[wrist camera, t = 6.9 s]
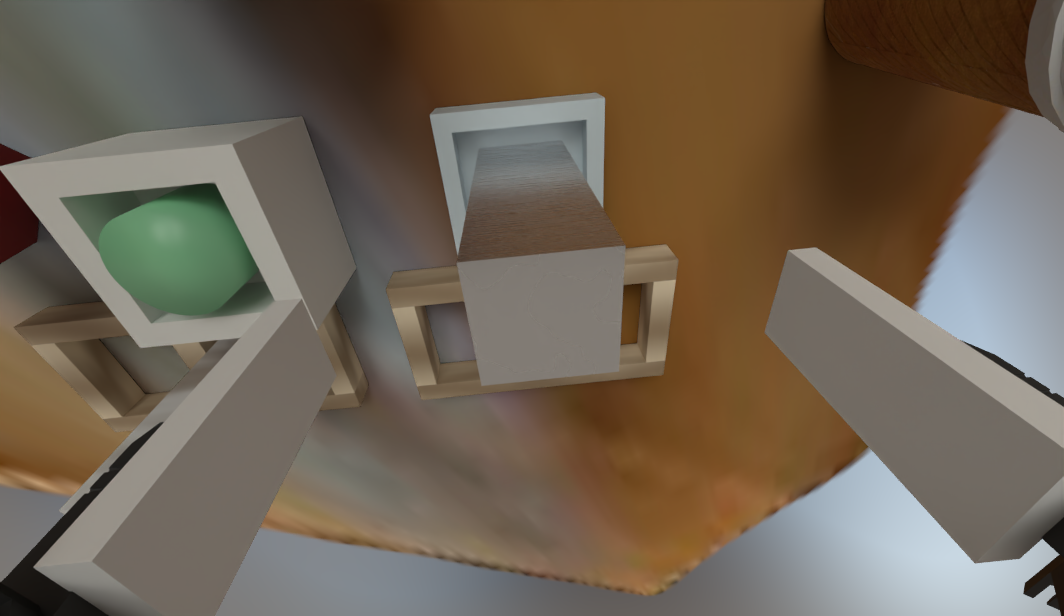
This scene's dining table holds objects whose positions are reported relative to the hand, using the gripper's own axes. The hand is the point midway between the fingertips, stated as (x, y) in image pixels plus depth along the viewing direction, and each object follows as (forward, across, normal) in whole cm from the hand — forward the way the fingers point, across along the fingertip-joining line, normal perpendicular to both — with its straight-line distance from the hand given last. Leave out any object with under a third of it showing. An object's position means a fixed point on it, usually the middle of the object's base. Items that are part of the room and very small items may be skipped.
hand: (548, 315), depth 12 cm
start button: (+9, -14, 0) cm, 17 cm away
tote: (+12, 0, 0) cm, 12 cm away
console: (+12, -14, 0) cm, 19 cm away
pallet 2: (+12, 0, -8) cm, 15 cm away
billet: (+11, 0, 0) cm, 11 cm away
